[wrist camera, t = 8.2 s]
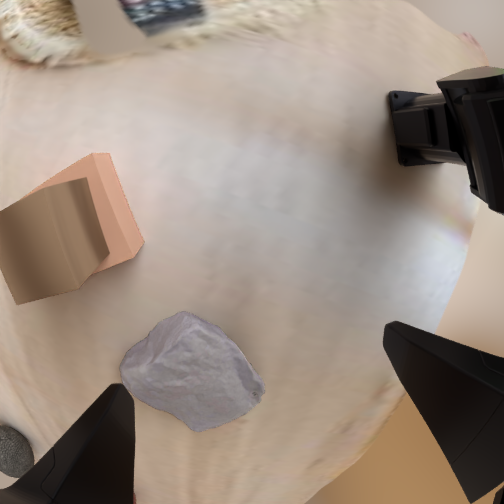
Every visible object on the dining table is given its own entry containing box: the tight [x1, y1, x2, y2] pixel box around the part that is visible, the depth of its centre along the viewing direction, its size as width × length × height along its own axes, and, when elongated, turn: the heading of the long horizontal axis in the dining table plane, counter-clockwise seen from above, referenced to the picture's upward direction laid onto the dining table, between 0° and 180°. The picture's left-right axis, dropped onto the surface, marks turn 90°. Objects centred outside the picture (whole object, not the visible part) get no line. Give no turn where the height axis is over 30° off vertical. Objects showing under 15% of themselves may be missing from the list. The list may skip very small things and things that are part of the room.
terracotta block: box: [20, 153, 144, 275], centre depth 16 cm, size 7×7×4 cm
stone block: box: [119, 311, 265, 432], centre depth 22 cm, size 12×5×10 cm
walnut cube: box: [0, 177, 110, 305], centre depth 12 cm, size 5×5×5 cm
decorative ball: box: [0, 426, 34, 478], centre depth 21 cm, size 10×10×10 cm
